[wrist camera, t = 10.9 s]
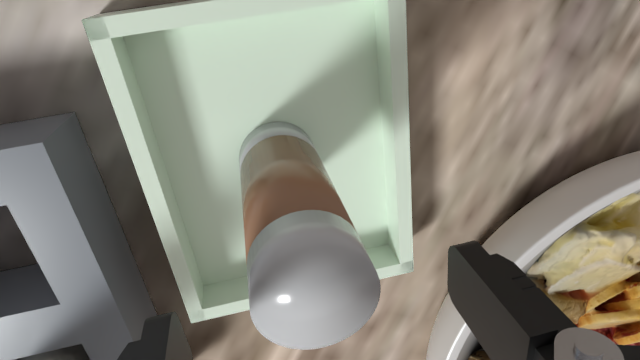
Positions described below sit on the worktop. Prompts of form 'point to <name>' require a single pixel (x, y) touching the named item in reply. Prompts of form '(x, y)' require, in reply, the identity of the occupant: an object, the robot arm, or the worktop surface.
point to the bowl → (569, 257)
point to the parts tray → (259, 121)
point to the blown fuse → (300, 244)
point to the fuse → (61, 354)
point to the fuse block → (65, 248)
